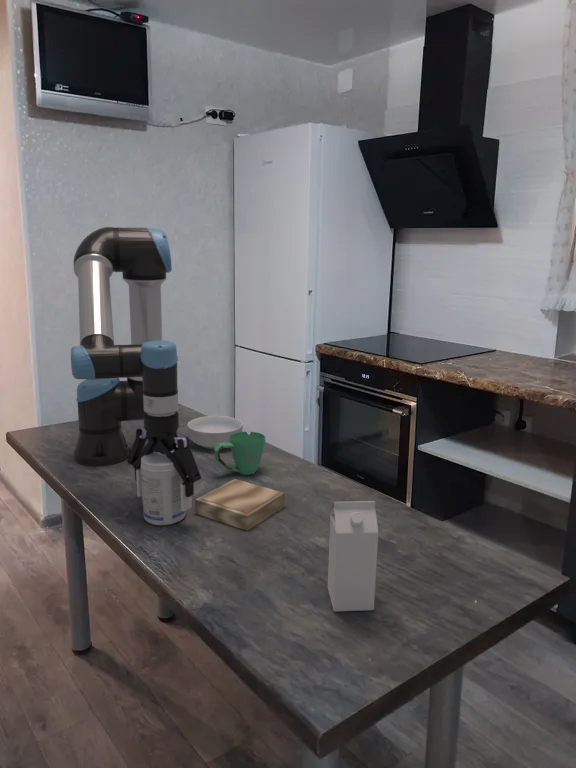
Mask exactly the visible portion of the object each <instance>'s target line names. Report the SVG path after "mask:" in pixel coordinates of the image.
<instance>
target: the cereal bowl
mask: <svg viewBox="0 0 576 768" xmlns="http://www.w3.org/2000/svg"><path fill="white" fill-rule="evenodd" d="M243 426H244V425H243V422H242V421H241V420H240V419H238V418H235V417H232V416H228V415H227V416H226V415H207V416H200V417H196V418H194V419H191V420H189V421H188V422H187V425H186V428H187V435H188V438H189V440H191V441H192V442H193V443H194V444H195V445H198V446H201V447H203V448H205V449H209V450H214V449H215V447H216V446H217V444H219V443H230V441H229V437H230V436H231V435H232V434H234V433H238V432H243V428H244V427H243Z"/></svg>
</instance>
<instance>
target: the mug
mask: <svg viewBox="0 0 576 768" xmlns="http://www.w3.org/2000/svg"><path fill="white" fill-rule="evenodd" d="M229 441H230V443H219V444H217V446H216V447H215V449H213V451H214V456H215V457H214V458H215V461H217V463H219V464H220V465H221V466H222V467H223V468H224V469H225V470H228V471H232V472H237V473H238V474H240V475H242V476H243V475H244V476H245V475H246V476H250V474H251V475H254V474H256V473H255V472H257V471H258V468H259V465H260V463H261V460H262V456H263V453H264V448H265V444H266V435H264V434H263V433H261V432H256V431H250V434H249V435H248V433H247V431H242V432H238V433H234V434H232V435H231V436H230V437H229ZM222 449H230V450H231V455H232V458H233V461H234V464H235V466H232V465H228V464H226V463H225V461H223V460H222V458H221V454H220V451H221V450H222Z"/></svg>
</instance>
